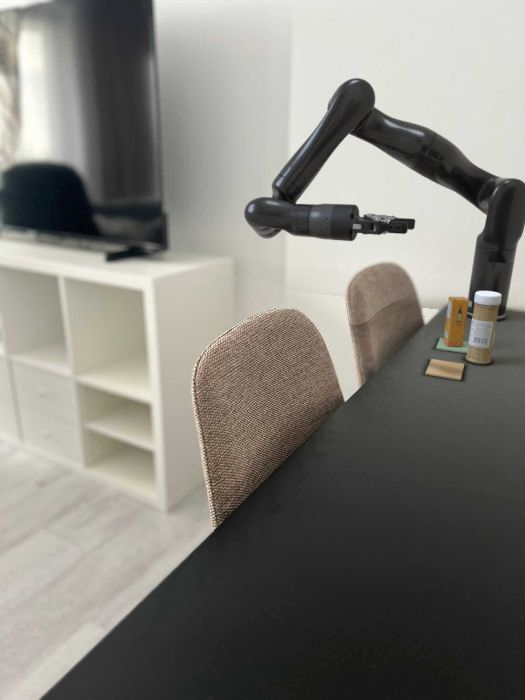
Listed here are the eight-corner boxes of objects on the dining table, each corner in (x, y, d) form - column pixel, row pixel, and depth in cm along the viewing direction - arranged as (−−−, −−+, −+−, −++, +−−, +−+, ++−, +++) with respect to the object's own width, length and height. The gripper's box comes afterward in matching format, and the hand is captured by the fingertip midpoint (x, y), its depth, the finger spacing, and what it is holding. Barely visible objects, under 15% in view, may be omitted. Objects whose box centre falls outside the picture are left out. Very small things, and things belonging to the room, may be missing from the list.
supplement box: (458, 342, 108) (465, 296, 105) (462, 347, 105) (469, 300, 102) (442, 341, 109) (448, 295, 105) (446, 346, 106) (452, 299, 102)
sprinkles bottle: (494, 361, 99) (506, 293, 95) (484, 366, 96) (495, 296, 92) (471, 355, 102) (481, 288, 98) (460, 360, 99) (471, 292, 95)
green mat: (439, 339, 111) (440, 337, 111) (469, 343, 109) (469, 341, 109) (436, 349, 105) (436, 347, 105) (467, 353, 103) (467, 351, 103)
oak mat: (431, 360, 99) (431, 358, 99) (464, 365, 96) (464, 363, 96) (425, 374, 92) (425, 372, 92) (460, 380, 90) (461, 378, 89)
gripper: (324, 205, 102) (407, 209, 96) (344, 202, 115) (418, 205, 108) (322, 243, 105) (403, 249, 99) (342, 236, 117) (414, 240, 111)
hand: (411, 226), depth 103 cm, fingers open, 8 cm apart
